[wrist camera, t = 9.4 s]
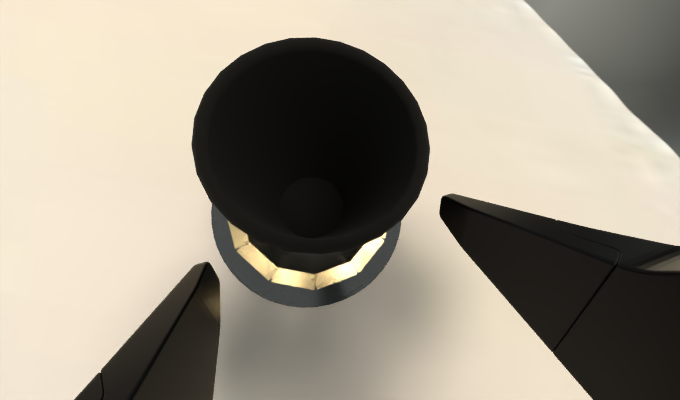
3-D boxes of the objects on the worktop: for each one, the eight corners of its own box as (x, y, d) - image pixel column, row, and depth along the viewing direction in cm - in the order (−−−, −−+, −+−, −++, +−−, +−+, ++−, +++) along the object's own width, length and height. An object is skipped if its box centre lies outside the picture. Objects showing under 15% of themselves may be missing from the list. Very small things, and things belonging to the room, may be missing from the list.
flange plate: (318, 350, 18) (319, 361, 16) (172, 215, 19) (156, 210, 17) (430, 202, 22) (442, 197, 20) (305, 96, 23) (305, 81, 21)
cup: (254, 253, 18) (160, 242, 6) (269, 158, 20) (216, 17, 8) (356, 260, 19) (434, 263, 7) (361, 168, 21) (429, 55, 9)
